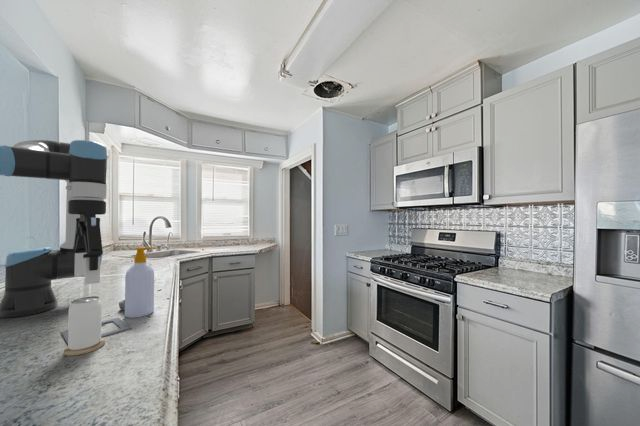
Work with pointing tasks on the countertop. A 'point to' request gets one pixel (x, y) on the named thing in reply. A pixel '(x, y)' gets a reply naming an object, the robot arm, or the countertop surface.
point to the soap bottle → (139, 287)
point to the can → (84, 323)
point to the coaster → (79, 352)
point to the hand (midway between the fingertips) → (86, 279)
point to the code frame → (117, 321)
